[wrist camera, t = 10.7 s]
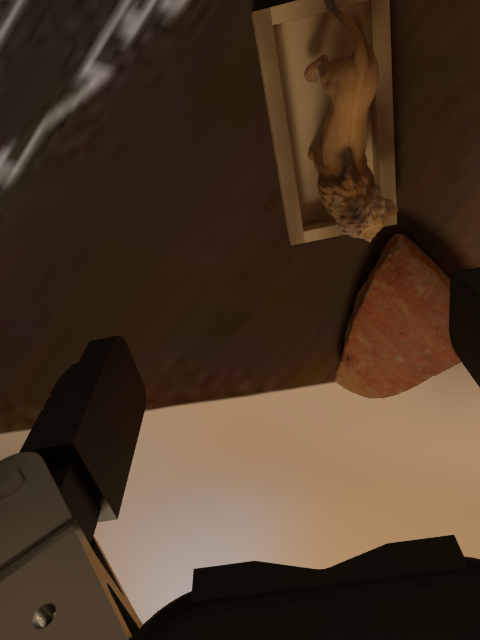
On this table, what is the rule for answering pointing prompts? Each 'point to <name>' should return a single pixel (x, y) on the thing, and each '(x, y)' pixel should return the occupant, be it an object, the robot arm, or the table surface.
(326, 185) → the lion figurine
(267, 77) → the rectangular tray
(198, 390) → the table surface
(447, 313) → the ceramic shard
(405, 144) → the table surface
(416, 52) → the table surface
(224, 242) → the table surface
